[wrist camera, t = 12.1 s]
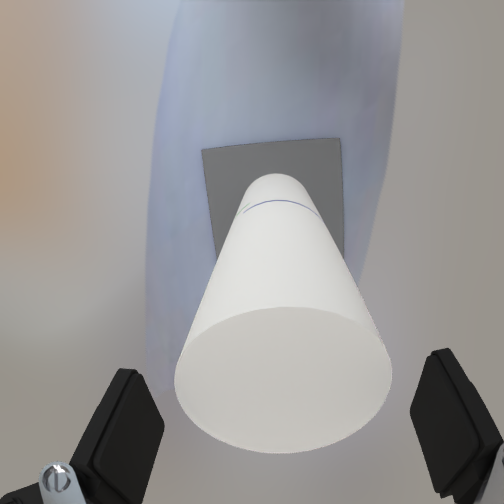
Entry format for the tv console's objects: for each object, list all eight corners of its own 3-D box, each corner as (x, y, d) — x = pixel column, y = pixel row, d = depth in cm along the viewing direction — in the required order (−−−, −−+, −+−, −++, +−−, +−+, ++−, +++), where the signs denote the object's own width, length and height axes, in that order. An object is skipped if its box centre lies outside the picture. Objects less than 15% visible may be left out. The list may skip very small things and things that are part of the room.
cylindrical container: (321, 224, 33) (404, 419, 10) (260, 250, 34) (237, 465, 11) (293, 162, 31) (361, 264, 7) (230, 191, 32) (131, 351, 9)
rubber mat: (203, 149, 31) (201, 150, 31) (338, 138, 30) (339, 138, 29) (220, 272, 37) (219, 275, 36) (342, 263, 35) (343, 266, 34)
